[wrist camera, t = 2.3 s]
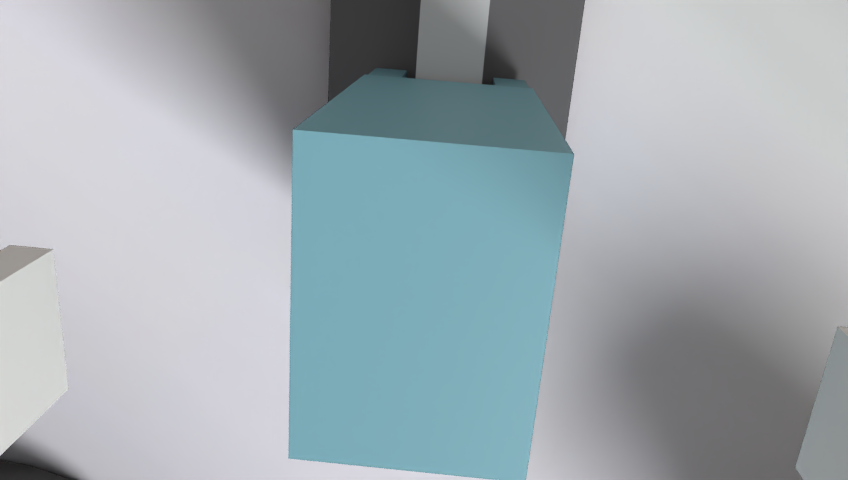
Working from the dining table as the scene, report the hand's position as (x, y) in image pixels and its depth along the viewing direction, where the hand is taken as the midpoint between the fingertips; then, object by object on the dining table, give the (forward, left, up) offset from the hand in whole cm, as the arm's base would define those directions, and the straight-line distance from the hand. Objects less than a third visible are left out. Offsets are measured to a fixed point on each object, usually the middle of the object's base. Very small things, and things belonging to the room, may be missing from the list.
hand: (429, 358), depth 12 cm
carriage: (0, 0, -13) cm, 13 cm away
